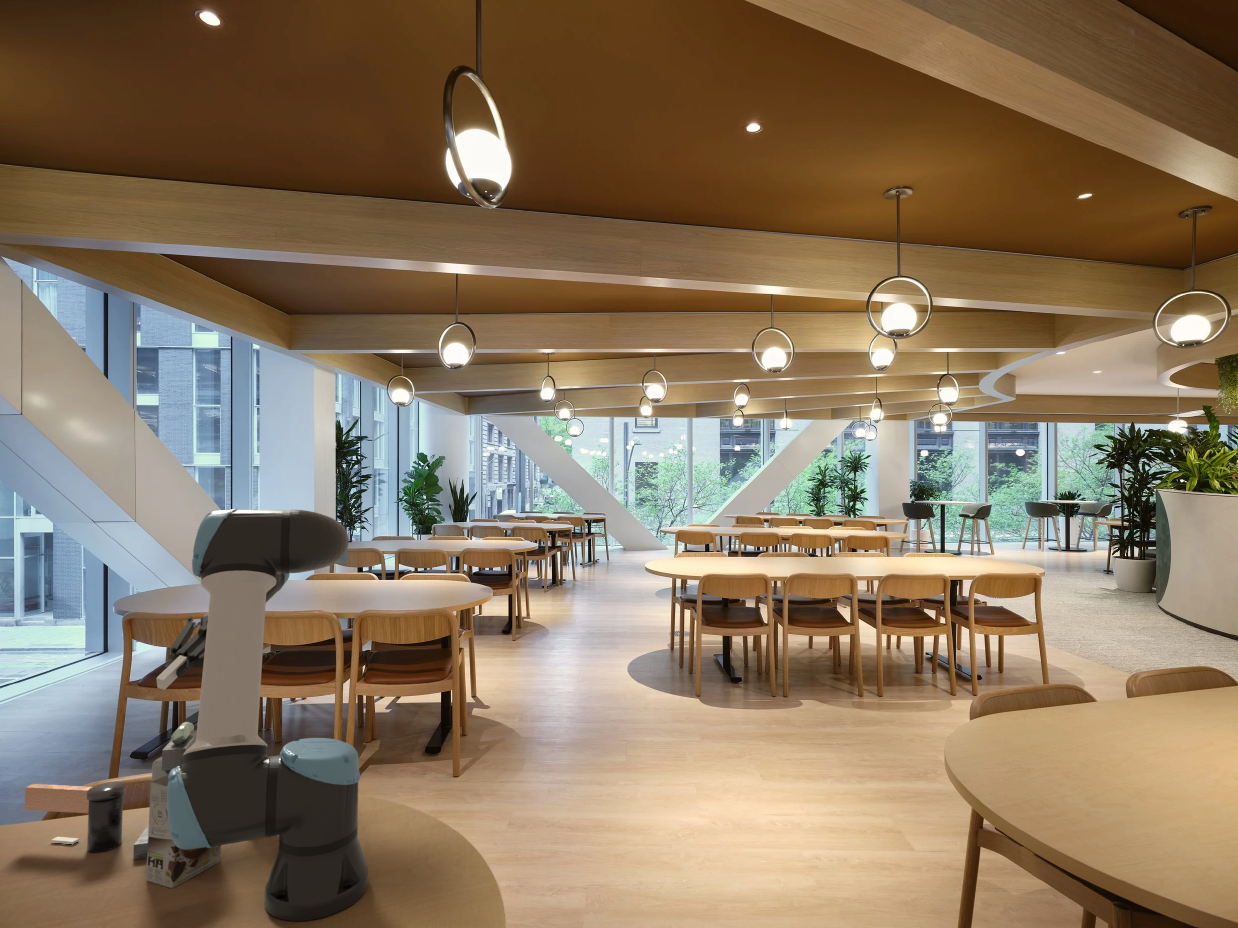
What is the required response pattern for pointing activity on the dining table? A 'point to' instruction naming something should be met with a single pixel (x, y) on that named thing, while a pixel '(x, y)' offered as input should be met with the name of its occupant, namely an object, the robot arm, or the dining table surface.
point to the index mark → (65, 840)
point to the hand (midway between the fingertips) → (160, 683)
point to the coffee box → (171, 845)
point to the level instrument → (167, 770)
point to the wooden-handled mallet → (84, 808)
